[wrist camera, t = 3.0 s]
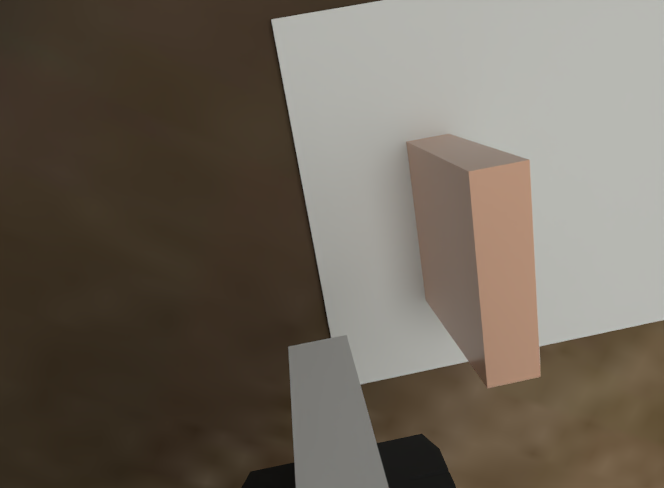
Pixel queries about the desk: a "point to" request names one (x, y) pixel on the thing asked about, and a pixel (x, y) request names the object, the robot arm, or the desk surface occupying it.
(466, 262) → the tile
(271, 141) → the desk surface
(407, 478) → the robot arm
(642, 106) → the mat
